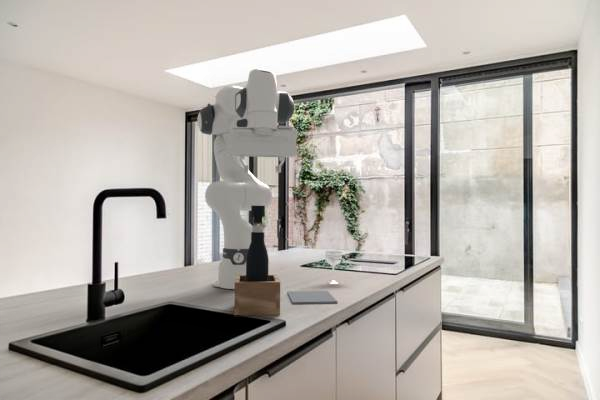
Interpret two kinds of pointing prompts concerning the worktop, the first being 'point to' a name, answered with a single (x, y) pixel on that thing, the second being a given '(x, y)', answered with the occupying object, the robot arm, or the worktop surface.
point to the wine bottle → (257, 250)
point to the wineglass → (333, 261)
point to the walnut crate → (257, 296)
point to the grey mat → (311, 297)
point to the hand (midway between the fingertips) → (262, 172)
